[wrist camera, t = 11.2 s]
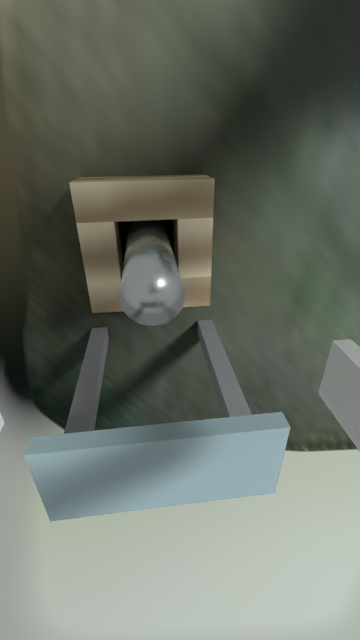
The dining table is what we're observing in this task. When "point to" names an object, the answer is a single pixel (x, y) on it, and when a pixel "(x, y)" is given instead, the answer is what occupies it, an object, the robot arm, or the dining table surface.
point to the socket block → (137, 205)
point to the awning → (156, 448)
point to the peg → (150, 276)
